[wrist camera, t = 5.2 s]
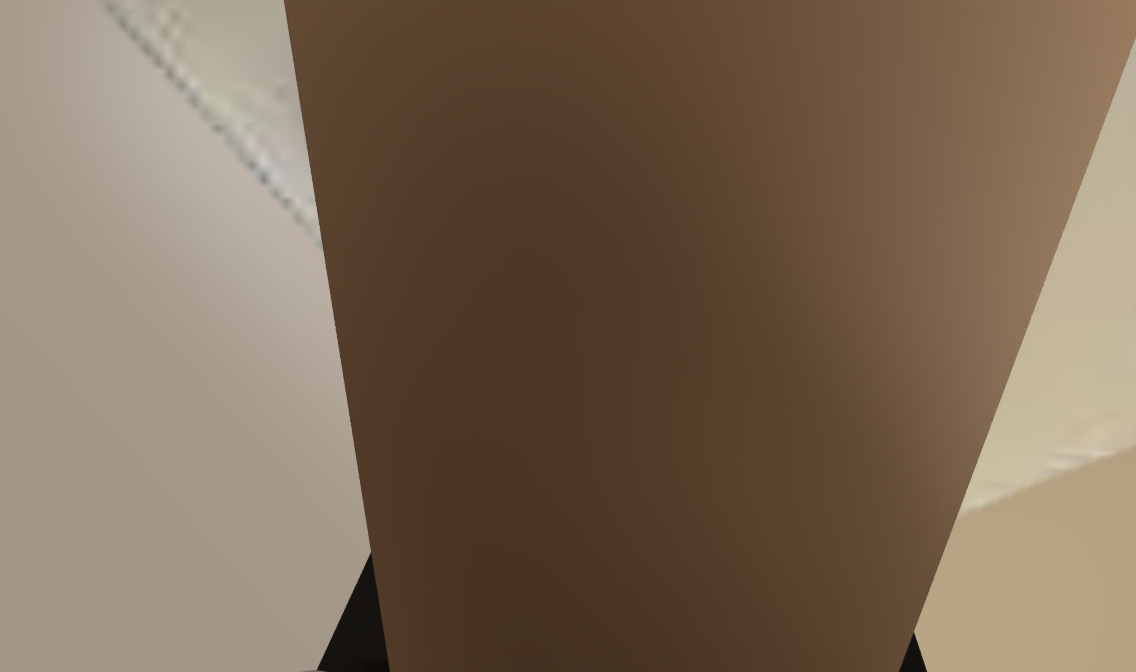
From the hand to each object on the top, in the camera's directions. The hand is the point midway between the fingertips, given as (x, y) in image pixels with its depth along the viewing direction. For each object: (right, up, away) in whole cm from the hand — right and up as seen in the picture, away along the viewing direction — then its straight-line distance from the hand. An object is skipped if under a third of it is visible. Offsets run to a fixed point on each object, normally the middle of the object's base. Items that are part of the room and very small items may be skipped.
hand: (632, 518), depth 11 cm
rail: (0, -1, -1) cm, 1 cm away
